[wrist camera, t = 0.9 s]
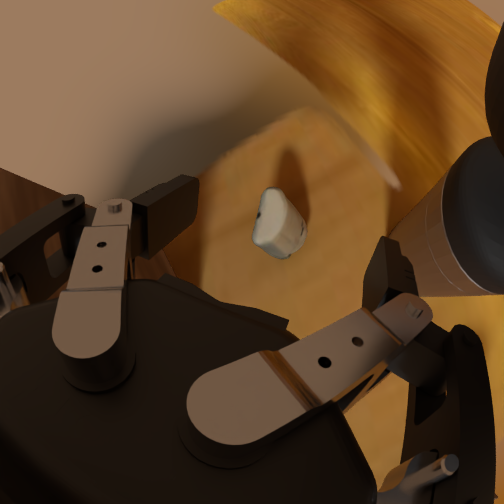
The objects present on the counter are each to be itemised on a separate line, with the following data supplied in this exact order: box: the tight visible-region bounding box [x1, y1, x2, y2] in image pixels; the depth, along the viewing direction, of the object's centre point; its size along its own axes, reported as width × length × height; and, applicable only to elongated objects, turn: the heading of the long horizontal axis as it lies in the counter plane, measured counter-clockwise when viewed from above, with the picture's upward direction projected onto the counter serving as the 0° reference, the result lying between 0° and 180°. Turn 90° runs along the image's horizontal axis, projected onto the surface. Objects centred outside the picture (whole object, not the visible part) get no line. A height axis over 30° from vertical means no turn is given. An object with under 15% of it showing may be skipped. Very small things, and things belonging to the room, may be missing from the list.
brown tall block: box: [0, 168, 176, 300], centre depth 21 cm, size 12×13×34 cm
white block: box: [252, 187, 308, 259], centre depth 30 cm, size 6×5×8 cm
